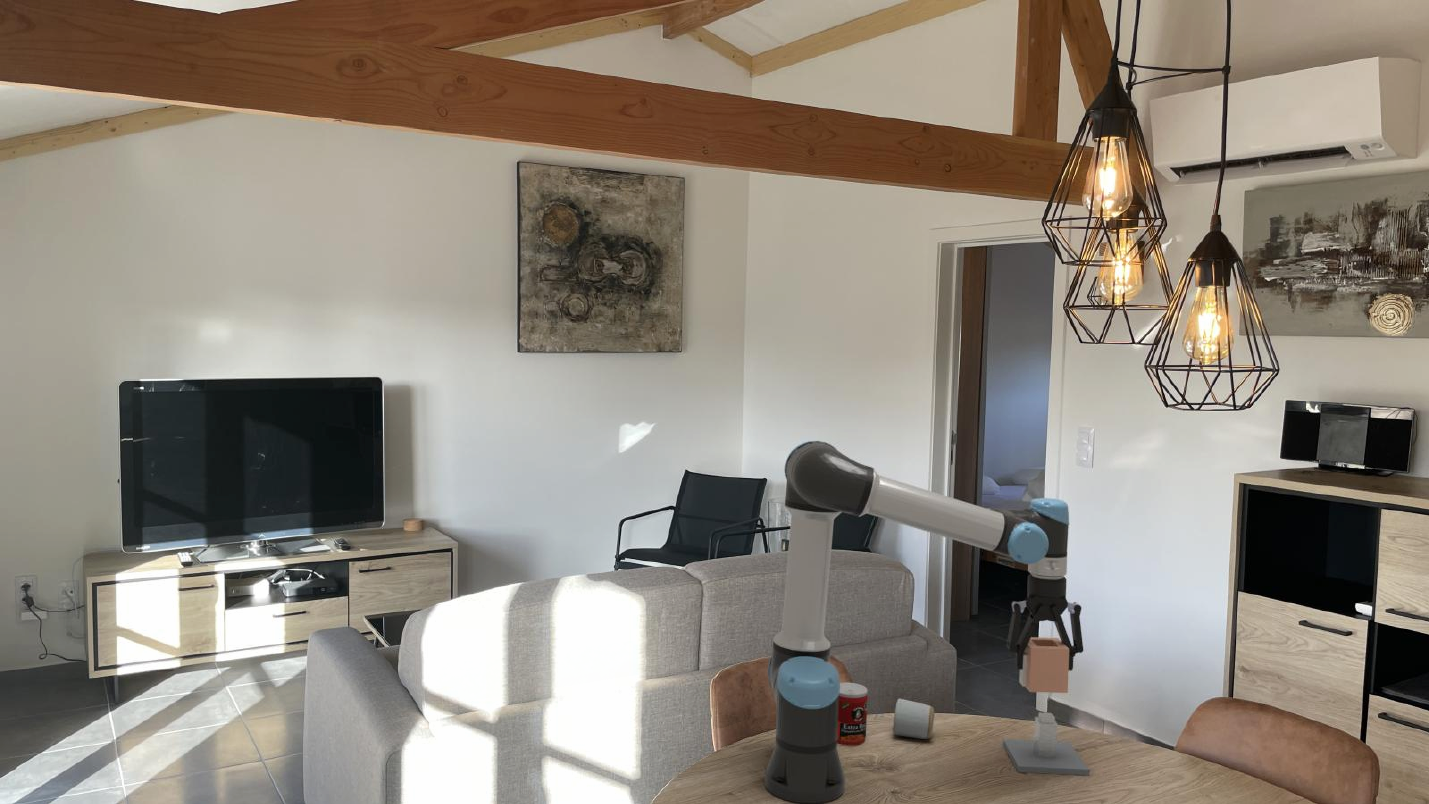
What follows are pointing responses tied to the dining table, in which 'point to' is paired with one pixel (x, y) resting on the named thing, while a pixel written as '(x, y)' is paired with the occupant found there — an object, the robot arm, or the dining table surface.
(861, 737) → the canned food
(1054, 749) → the square shaft
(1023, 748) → the shaft plate
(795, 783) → the robot arm
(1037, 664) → the square open box
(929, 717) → the ceramic mug
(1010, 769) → the dining table surface
